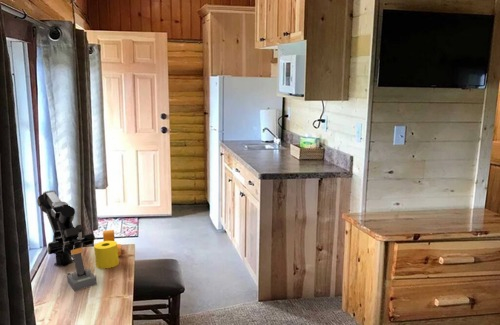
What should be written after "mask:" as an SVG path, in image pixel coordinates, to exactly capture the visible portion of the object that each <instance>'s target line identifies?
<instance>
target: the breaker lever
mask: <svg viewBox="0 0 500 325" xmlns="http://www.w3.org/2000/svg"><path fill="white" fill-rule="evenodd" d="M82 253H83V249H82V247H81V248H78V249H73V250H71V255H73V257H74V259H73V260H74V261H73V263H74V265H75V266H74V268H75V271H76V273H77V276H78V277H79V276H83V275H85V265H84V260H83V256H82Z"/></svg>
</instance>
